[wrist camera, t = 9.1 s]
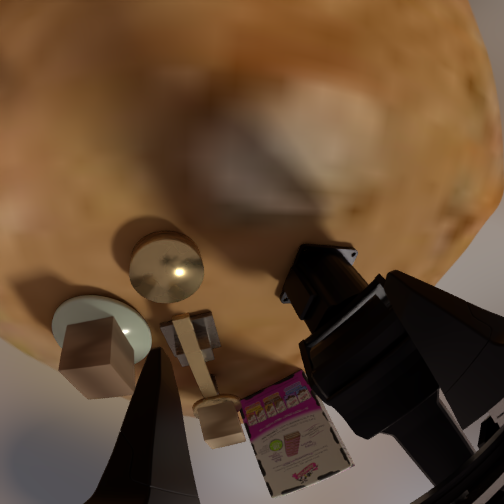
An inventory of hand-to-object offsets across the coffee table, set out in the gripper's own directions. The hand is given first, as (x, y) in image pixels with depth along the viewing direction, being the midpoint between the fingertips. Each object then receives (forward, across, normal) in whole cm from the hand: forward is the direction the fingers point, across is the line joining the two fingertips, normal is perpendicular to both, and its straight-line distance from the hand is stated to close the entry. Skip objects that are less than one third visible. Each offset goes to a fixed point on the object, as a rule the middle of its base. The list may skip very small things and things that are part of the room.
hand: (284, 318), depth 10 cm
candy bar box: (+12, -1, +32) cm, 34 cm away
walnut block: (+11, +14, +10) cm, 20 cm away
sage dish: (+12, +14, +10) cm, 21 cm away
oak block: (+7, +6, +22) cm, 24 cm away
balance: (+12, +6, +14) cm, 19 cm away
